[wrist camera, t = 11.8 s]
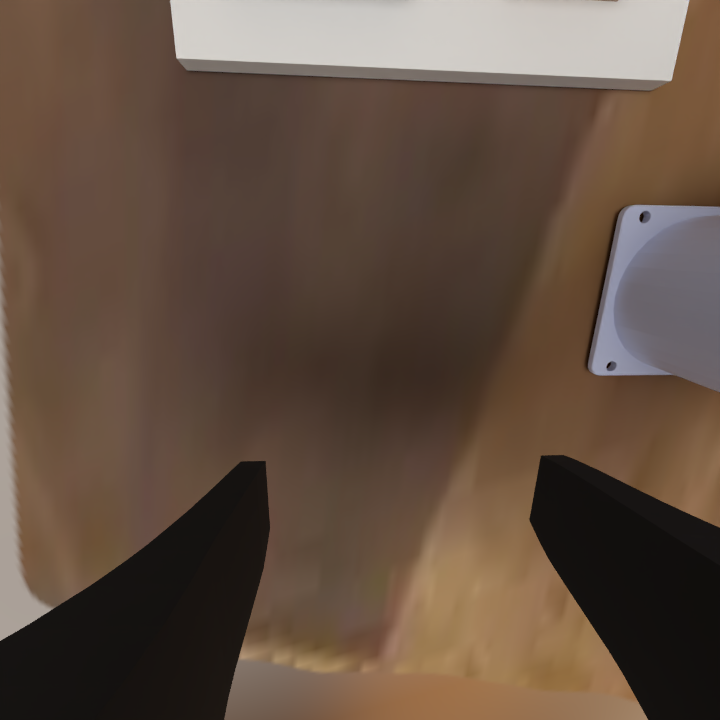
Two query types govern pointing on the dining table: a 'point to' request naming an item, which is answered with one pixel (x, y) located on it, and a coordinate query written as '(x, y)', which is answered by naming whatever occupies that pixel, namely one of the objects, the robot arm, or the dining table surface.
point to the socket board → (437, 40)
